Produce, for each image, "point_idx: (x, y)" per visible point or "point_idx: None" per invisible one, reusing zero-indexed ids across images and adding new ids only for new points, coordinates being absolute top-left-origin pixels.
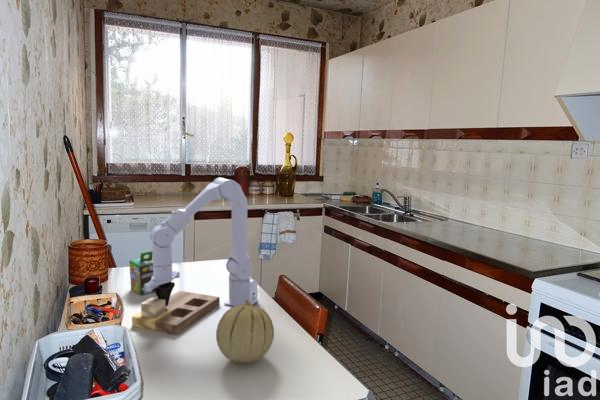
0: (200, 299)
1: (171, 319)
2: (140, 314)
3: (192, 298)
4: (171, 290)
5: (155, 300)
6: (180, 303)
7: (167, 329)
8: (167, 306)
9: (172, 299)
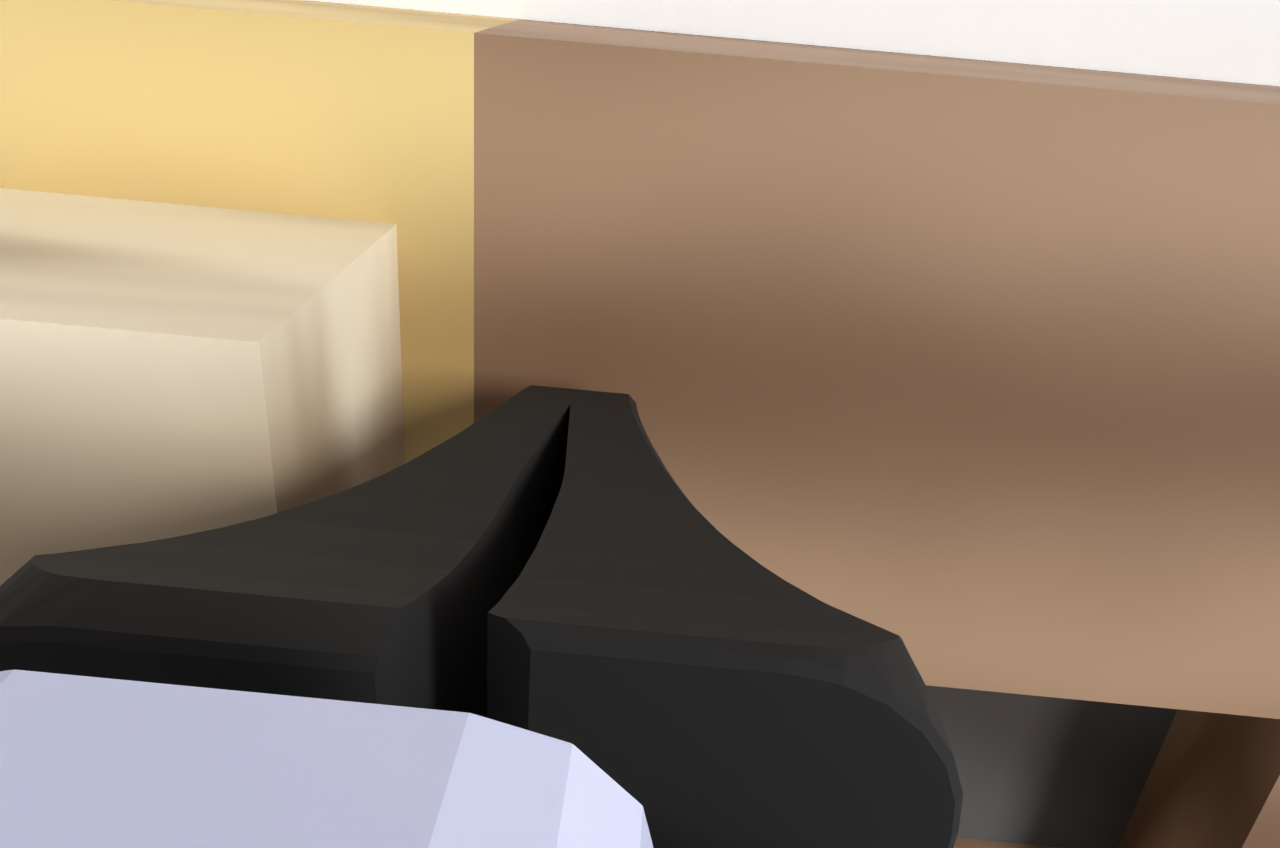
0: (1241, 832)
1: None
2: (24, 114)
3: (1276, 704)
4: None
5: None
6: (939, 614)
7: None
8: (697, 451)
9: (1176, 329)
